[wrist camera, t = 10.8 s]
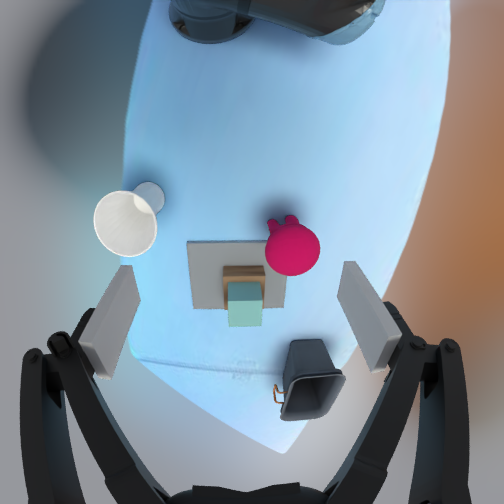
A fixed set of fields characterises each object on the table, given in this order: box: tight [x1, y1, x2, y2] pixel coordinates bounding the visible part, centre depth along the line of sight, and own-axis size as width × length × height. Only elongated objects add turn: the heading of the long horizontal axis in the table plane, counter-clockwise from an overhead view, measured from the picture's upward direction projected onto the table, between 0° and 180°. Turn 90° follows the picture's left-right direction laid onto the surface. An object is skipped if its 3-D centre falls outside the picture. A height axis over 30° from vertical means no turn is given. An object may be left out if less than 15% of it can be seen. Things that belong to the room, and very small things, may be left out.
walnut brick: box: [223, 265, 265, 310], centre depth 56 cm, size 8×8×4 cm
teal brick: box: [228, 282, 263, 327], centre depth 52 cm, size 6×6×6 cm
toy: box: [265, 215, 320, 276], centre depth 47 cm, size 8×8×15 cm
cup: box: [94, 182, 165, 257], centre depth 43 cm, size 10×10×14 cm
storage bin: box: [273, 340, 346, 421], centre depth 66 cm, size 21×16×14 cm
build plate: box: [187, 241, 287, 309], centre depth 58 cm, size 16×20×1 cm
